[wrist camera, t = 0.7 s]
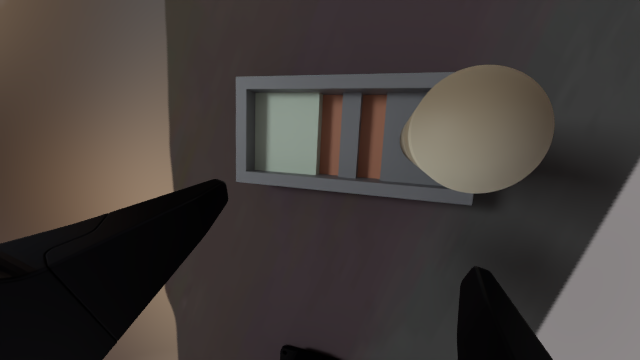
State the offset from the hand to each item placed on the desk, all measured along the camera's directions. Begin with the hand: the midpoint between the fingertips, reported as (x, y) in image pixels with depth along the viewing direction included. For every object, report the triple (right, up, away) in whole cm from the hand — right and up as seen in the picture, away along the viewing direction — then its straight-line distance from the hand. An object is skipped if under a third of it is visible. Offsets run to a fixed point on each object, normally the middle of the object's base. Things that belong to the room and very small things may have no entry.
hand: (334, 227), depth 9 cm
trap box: (+2, +6, +14) cm, 15 cm away
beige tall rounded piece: (+8, +5, +11) cm, 14 cm away
